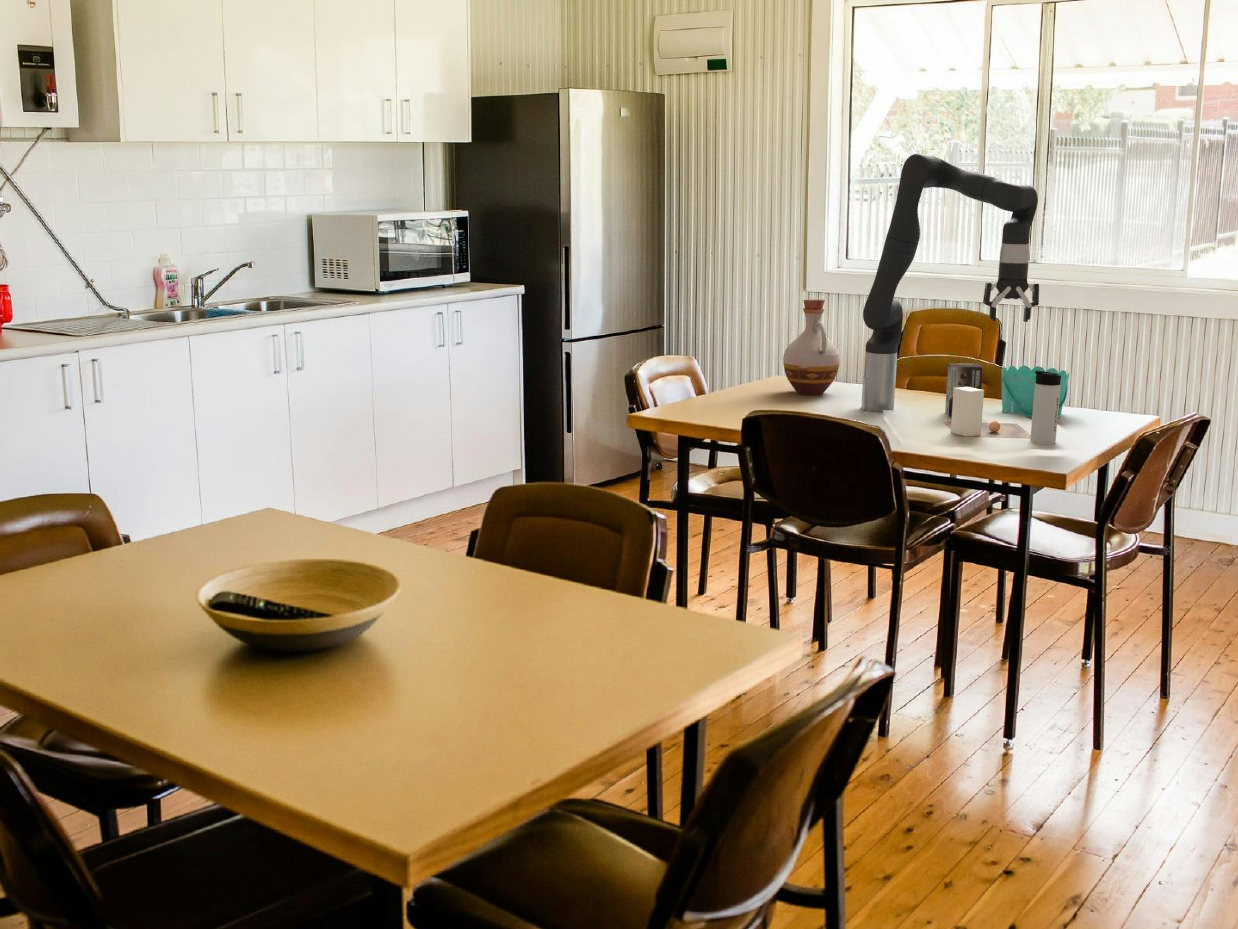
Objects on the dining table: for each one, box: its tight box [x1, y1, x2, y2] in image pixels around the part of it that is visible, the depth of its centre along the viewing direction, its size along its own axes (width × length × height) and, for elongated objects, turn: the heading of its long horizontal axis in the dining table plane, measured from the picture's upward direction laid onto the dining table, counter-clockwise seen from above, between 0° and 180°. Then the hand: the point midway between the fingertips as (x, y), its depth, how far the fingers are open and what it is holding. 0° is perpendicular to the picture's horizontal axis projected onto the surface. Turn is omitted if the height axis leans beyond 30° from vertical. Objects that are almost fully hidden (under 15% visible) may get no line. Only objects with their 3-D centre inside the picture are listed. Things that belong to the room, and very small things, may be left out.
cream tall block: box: [950, 387, 985, 436], centre depth 344 cm, size 5×6×12 cm
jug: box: [782, 298, 841, 396], centre depth 409 cm, size 20×18×30 cm
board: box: [943, 421, 1031, 439], centre depth 351 cm, size 20×20×2 cm
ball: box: [989, 420, 1000, 432], centre depth 347 cm, size 3×3×3 cm
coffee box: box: [944, 362, 984, 418], centre depth 370 cm, size 9×6×16 cm
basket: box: [1000, 365, 1070, 419], centre depth 382 cm, size 19×18×13 cm
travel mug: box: [1029, 370, 1061, 445], centre depth 335 cm, size 6×7×20 cm
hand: (1009, 321), depth 351 cm, fingers open, 8 cm apart
